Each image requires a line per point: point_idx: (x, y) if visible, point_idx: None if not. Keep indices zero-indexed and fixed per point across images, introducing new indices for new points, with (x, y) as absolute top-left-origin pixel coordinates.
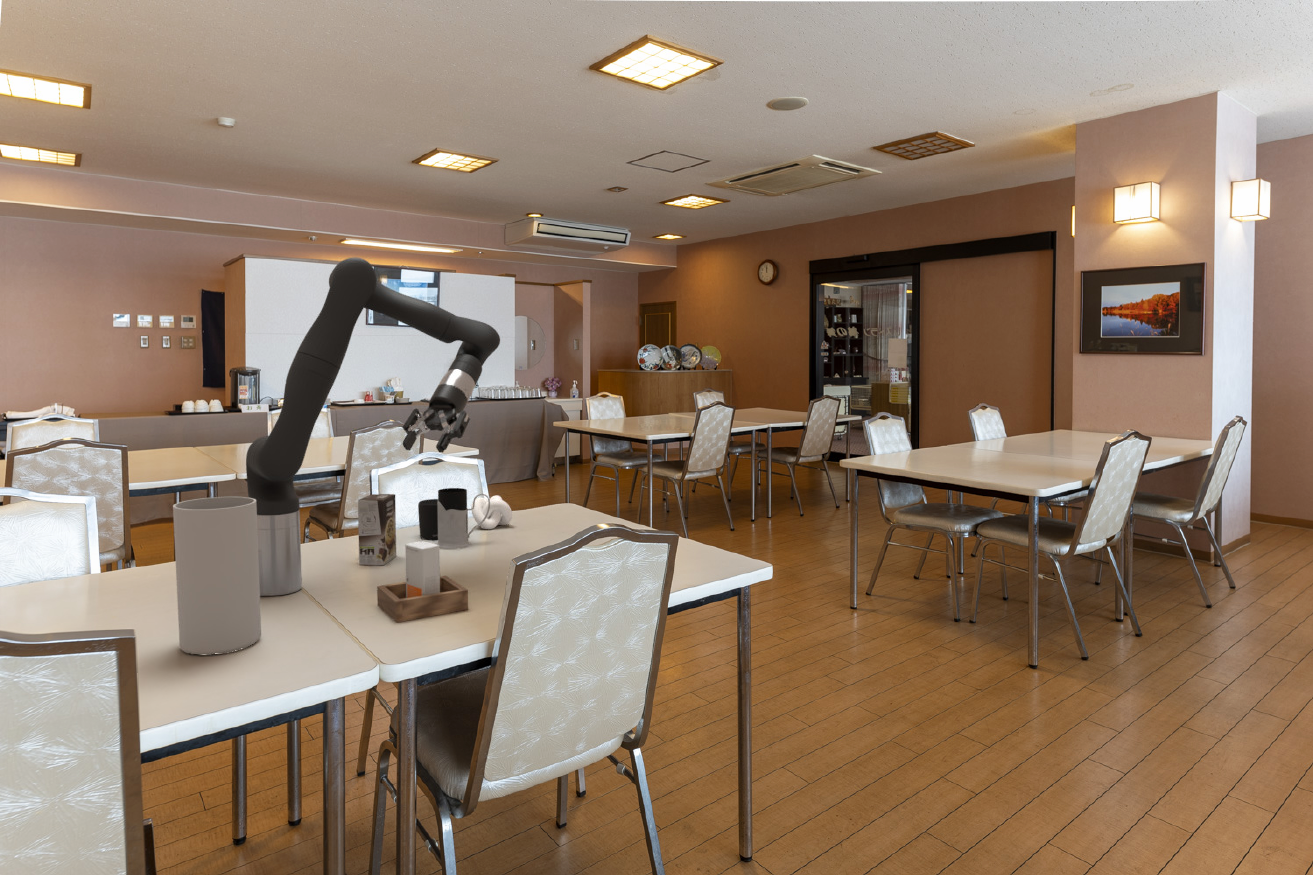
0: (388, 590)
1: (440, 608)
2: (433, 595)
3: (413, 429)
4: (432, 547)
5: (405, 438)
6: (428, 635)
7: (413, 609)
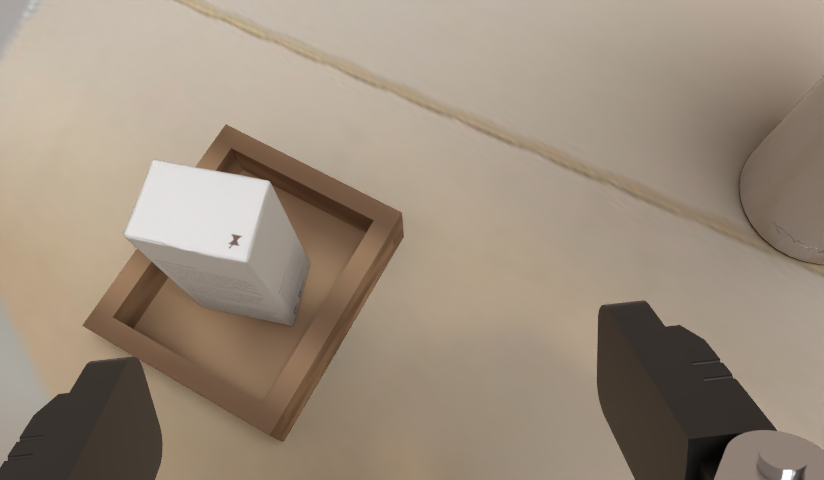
0: (330, 195)
1: None
2: None
3: (716, 476)
4: (136, 204)
5: (723, 381)
6: (93, 122)
7: None
